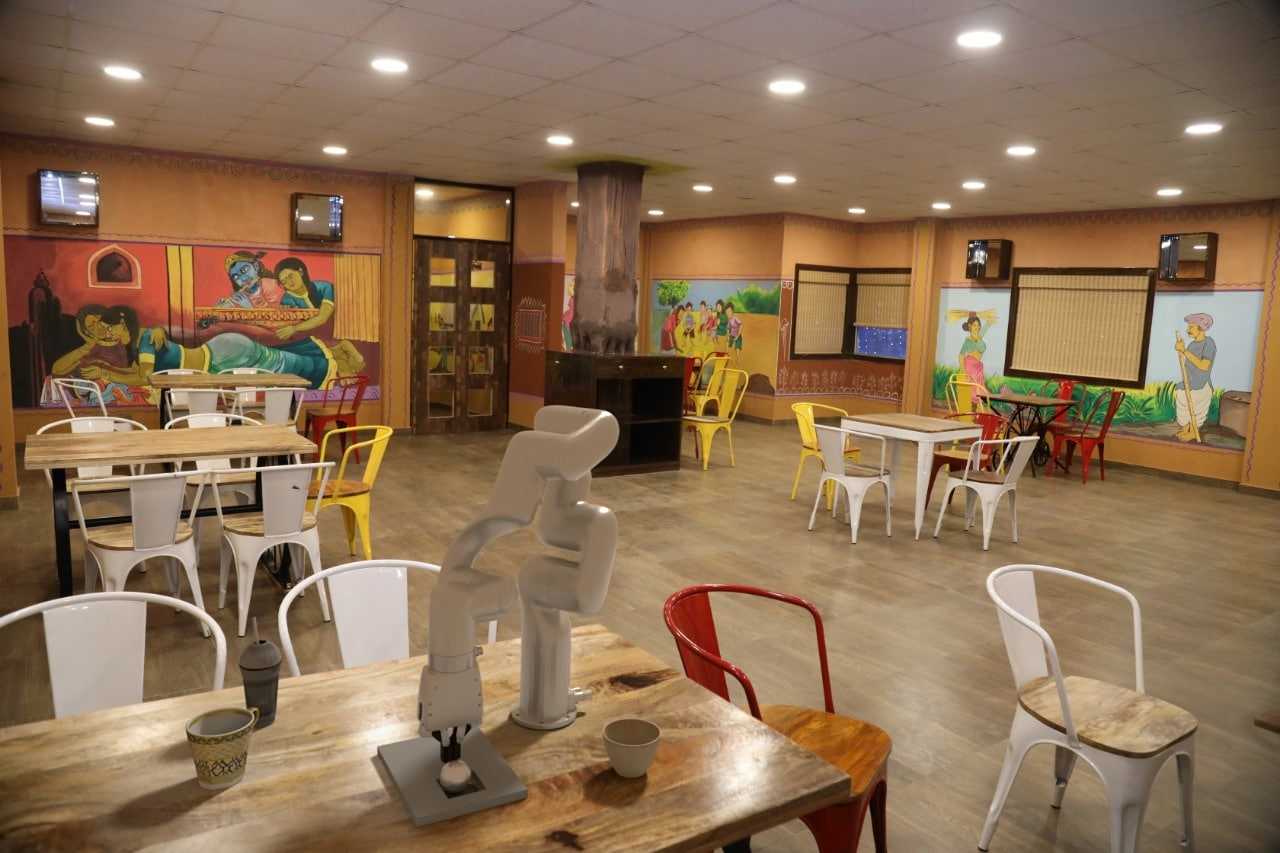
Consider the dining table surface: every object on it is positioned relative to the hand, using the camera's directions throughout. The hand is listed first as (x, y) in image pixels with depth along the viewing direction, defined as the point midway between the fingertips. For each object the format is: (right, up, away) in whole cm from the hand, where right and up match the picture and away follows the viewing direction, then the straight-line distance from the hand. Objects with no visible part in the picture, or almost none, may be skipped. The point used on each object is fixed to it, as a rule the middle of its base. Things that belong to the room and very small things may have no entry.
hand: (450, 763), depth 144 cm
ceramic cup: (-36, -1, -2) cm, 36 cm away
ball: (+2, 0, -4) cm, 5 cm away
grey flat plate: (0, -2, +1) cm, 2 cm away
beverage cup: (-38, +1, +16) cm, 42 cm away
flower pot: (+30, -3, +5) cm, 30 cm away
